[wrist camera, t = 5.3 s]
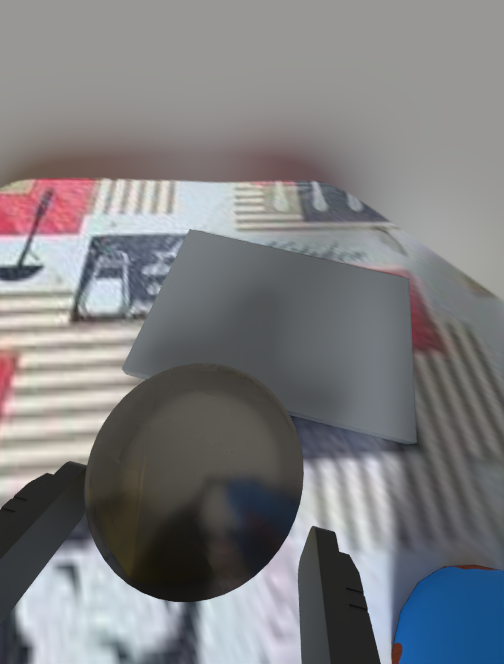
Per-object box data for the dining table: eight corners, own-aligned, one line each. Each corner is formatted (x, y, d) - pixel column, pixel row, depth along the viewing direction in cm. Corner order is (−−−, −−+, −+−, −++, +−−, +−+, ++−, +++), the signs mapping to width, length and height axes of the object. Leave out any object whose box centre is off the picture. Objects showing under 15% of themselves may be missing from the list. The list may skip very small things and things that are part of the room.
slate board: (403, 285, 27) (409, 278, 26) (408, 444, 20) (416, 442, 19) (190, 237, 27) (189, 229, 27) (126, 374, 21) (121, 368, 20)
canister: (267, 445, 19) (315, 387, 9) (248, 545, 16) (284, 634, 6) (187, 425, 19) (140, 344, 9) (156, 519, 17) (36, 563, 6)
